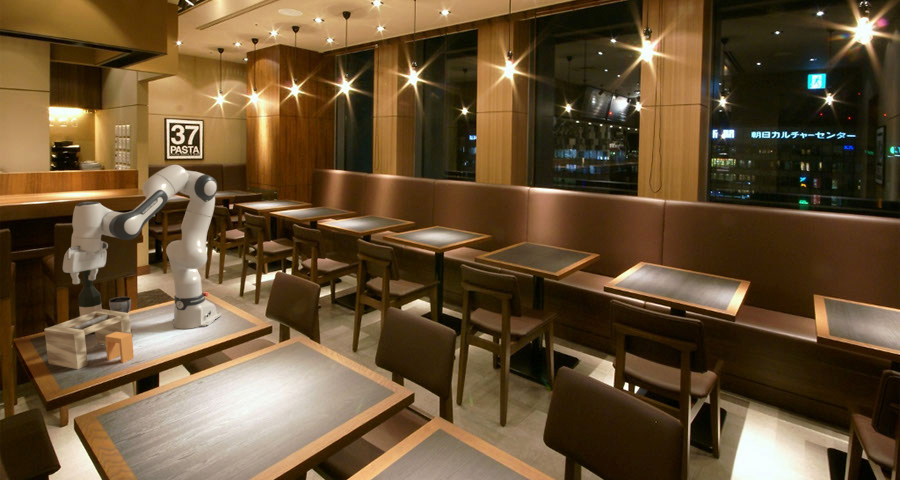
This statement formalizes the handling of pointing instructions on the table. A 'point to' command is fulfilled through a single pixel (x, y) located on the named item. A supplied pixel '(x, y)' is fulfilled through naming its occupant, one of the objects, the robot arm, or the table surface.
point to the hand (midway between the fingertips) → (84, 281)
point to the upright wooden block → (119, 346)
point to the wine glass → (120, 304)
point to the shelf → (82, 336)
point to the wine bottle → (88, 297)
